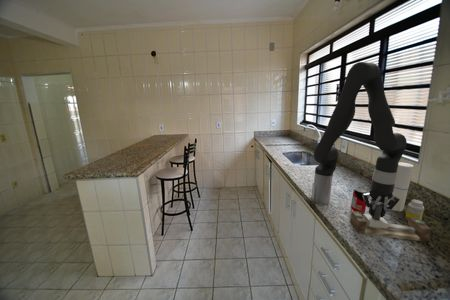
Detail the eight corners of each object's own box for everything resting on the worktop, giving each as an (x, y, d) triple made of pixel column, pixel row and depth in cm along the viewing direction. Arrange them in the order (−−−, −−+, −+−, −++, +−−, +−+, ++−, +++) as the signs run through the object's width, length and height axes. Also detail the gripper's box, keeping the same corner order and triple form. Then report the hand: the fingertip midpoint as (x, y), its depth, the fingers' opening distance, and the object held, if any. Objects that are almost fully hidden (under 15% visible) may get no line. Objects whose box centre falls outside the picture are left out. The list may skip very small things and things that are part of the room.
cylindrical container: (396, 212, 99) (407, 167, 93) (382, 205, 106) (391, 162, 99) (406, 210, 101) (417, 165, 95) (391, 203, 108) (401, 161, 101)
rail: (356, 232, 84) (359, 220, 83) (349, 221, 92) (351, 210, 90) (427, 241, 78) (431, 228, 77) (414, 229, 86) (417, 217, 84)
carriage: (368, 226, 84) (372, 207, 81) (362, 218, 89) (366, 200, 87) (387, 228, 82) (391, 209, 79) (380, 220, 88) (384, 201, 85)
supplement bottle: (411, 216, 95) (416, 198, 93) (423, 223, 90) (429, 204, 88) (401, 217, 95) (406, 198, 92) (413, 224, 90) (418, 204, 87)
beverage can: (365, 215, 97) (369, 194, 94) (350, 211, 100) (354, 191, 97) (364, 209, 102) (367, 189, 99) (350, 206, 105) (353, 186, 102)
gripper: (368, 182, 78) (362, 218, 83) (409, 185, 75) (400, 223, 79) (360, 175, 85) (354, 209, 90) (397, 177, 82) (389, 213, 86)
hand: (376, 215), depth 85 cm, fingers closed on carriage, 3 cm apart
